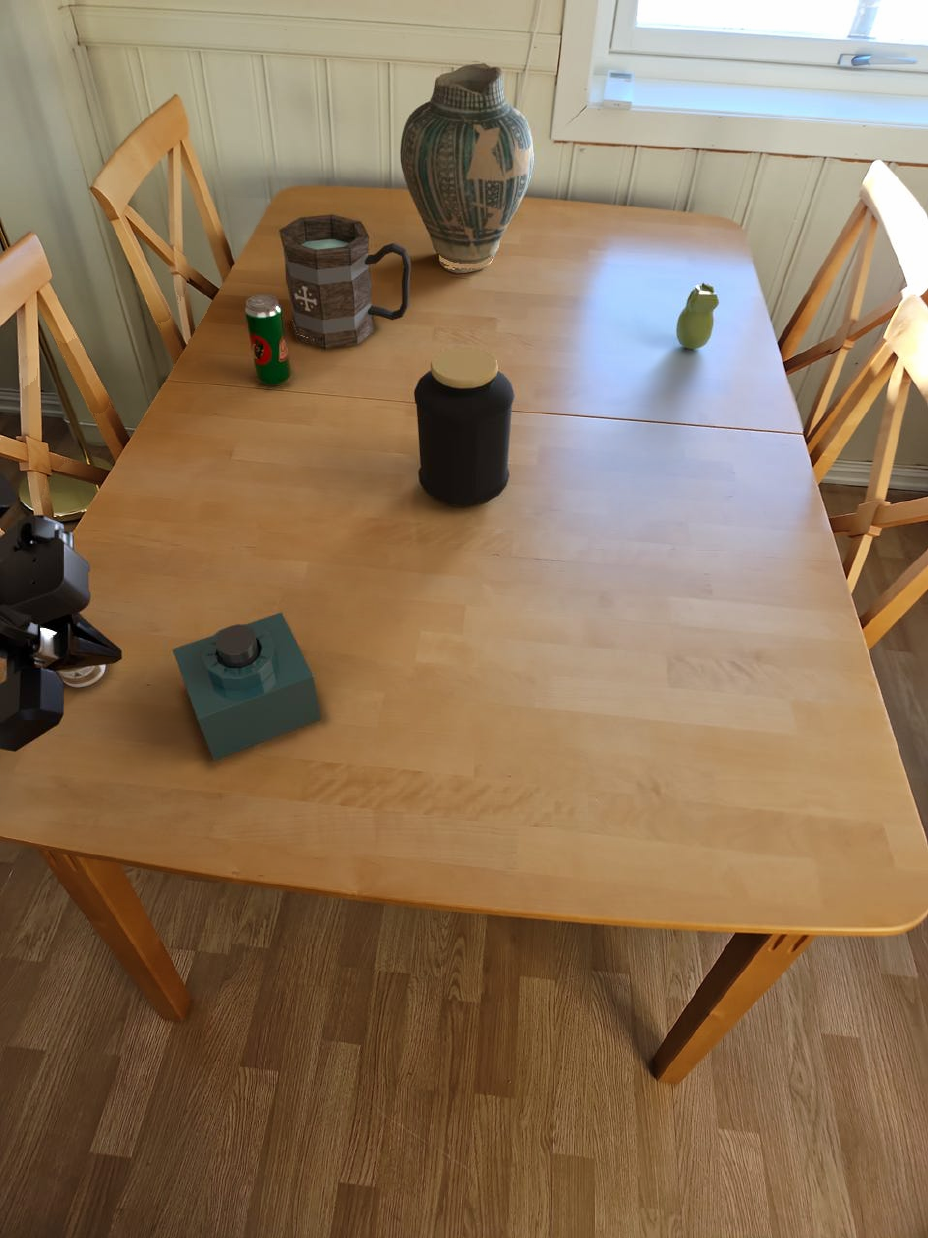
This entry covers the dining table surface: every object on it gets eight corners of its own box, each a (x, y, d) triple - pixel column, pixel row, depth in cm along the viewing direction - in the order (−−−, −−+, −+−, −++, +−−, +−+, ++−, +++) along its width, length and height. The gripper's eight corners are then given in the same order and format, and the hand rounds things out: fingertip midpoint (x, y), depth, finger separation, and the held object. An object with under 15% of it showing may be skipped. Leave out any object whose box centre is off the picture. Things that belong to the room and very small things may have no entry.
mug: (282, 346, 128) (267, 250, 117) (300, 303, 137) (288, 211, 126) (406, 354, 128) (404, 259, 117) (417, 311, 137) (415, 219, 126)
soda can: (292, 386, 121) (280, 309, 112) (257, 388, 121) (242, 311, 112) (291, 367, 125) (280, 291, 116) (257, 369, 124) (243, 293, 115)
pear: (701, 337, 134) (717, 277, 126) (712, 354, 130) (729, 294, 123) (668, 338, 133) (682, 278, 126) (678, 355, 130) (693, 295, 122)
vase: (541, 248, 154) (560, 60, 131) (499, 301, 140) (512, 102, 117) (432, 225, 159) (432, 41, 136) (382, 274, 145) (372, 78, 123)
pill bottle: (63, 693, 84) (36, 645, 78) (60, 662, 86) (33, 613, 81) (108, 681, 85) (84, 633, 79) (104, 650, 87) (80, 601, 82)
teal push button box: (213, 761, 79) (193, 707, 72) (188, 693, 84) (167, 637, 77) (321, 719, 82) (311, 664, 76) (291, 656, 88) (279, 599, 81)
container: (407, 463, 110) (403, 340, 96) (493, 451, 112) (501, 330, 99) (427, 523, 102) (425, 398, 89) (519, 509, 104) (531, 385, 91)
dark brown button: (226, 673, 75) (221, 659, 74) (215, 646, 77) (210, 632, 76) (264, 660, 76) (260, 646, 75) (252, 633, 78) (248, 619, 77)
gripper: (-7, 658, 50) (193, 716, 63) (4, 438, 60) (176, 526, 72) (-110, 731, 54) (97, 772, 67) (-84, 514, 64) (93, 585, 76)
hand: (118, 657), depth 70 cm, fingers closed
